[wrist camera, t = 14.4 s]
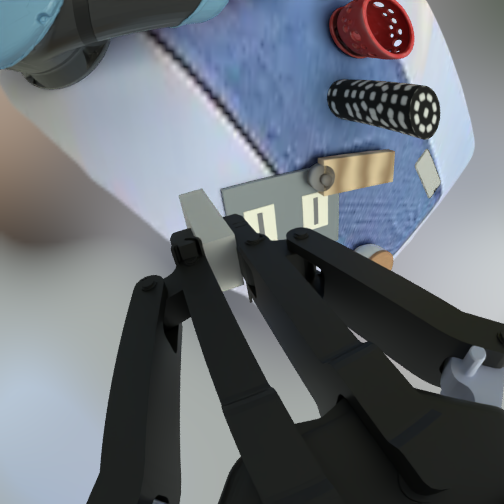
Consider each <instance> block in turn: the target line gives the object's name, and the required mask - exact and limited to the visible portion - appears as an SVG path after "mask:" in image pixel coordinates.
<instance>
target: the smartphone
mask: <svg viewBox="0 0 504 504" xmlns="http://www.w3.org/2000/svg"><path fill="white" fill-rule="evenodd" d="M415 169H416V171H417V173H418V175H419V178H420V180H421V182H422V184H423V187H424V189H425V192H426V194H427V196H428V198H431V197H432V195H433V194H434V192H435V191H436V189H437V188H438V186H439V185H440V183H441V181H440V178H439V175H438V172H437V170H436V167H435V165H434V162H433V159H432V157H431V155H430V152H429V150H428V149H426V150H425V151H424V152H423V154H422V155H421V157H420V158H419V159H418V161H417V162H416V164H415Z"/></svg>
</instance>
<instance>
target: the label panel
mask: <svg viewBox="0 0 504 504" xmlns="http://www.w3.org/2000/svg"><path fill="white" fill-rule="evenodd" d="M309 169H310V168H306V169H301V170H297V171H292V172H288V173H283V174H279V175H275V176H271V177H266V178H262V179H258V180H254V181H250V182H246V183H242V184H238V185H235V186H231V187H227V188H223V189H221V193H222V198H223V203H224V208H225V214H226V216H229V215H232V214H238V215H241V216H243V218H244V219H245V220H246V221H247V222H248V223H249V225H250V226H251V227H252V228H253V229H254V230H255V231H256V233H261V234H264V235H266V236H267V237H268V238H269V239H270V240H284V239H286V234H287V232H288V231H290V230H291V229H294V228H299V227H304V228H309V229H312V230H314V231H316V232H318V233H320V234H322V235H324V236H326V237H328V238H330V239H332V240H334V241H337V240H338V225H339V193H337V194H332V195H328V196H323V195H321V194H319V193H318V191H317V190H316V189H314V188H312V187H311V186H310V185H309V184H308V182H307V173H308V171H309Z"/></svg>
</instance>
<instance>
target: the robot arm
mask: <svg viewBox="0 0 504 504" xmlns="http://www.w3.org/2000/svg"><path fill="white" fill-rule="evenodd" d="M228 1H229V0H0V69H7V70H13V71H19V72H22V74H23V76H24V77H25V78H26V80H27V81H28V82H30V83H31V84H33V85H35V86H37V87H40V88H45V89H60V88H65V87H68V86H70V85H73V84H75V83H77V82H79V81H80V80H82V79H83V78H85V77H86V76H87V75H88V74H90V73H91V72H92V71H93V70H94V69H95V68H96V66H97V65H98V64H99V63H100V61H101V60H102V58H103V57H104V55H105V53H106V51H107V49H108V46H109V43H110V38H114V37H118V36H123V35H127V34H131V33H136V32H141V31H147V30H152V29H158V28H165V27H169V28H177V27H180V26H183V25H187V24H194V23H202V22H205V21H208V20H211V19H212V18H214V17H216V16H217V15H218V14H219V13H220V12H221V11H222V10H223V9H224V7H225V6H226V4H227V3H228ZM179 199H180V202H181V206H182V210H183V214H184V218H185V221H186V225H187V229H185V230H182V231H178V232H175V233H173V234H172V236H171V238H170V241H171V245H172V246H171V252H172V255H173V258H174V261H175V264H176V269H175V270H174V272H173V273H172V274H171V275H169V276H168V277H166V278H164V279H163V278H162V277H161V276H157V275H151V276H147V277H145V278H143V279H141V280H140V281H139V282H138V283H137V284H136V286H135V288H134V290H133V294H132V297H131V301H130V305H129V309H128V312H127V317H126V320H125V324H124V328H123V332H122V336H121V340H120V345H119V349H118V354H117V358H116V363H115V368H114V373H113V378H112V383H111V389H110V395H109V400H108V407H107V413H106V420H105V427H104V435H103V443H102V453H101V464H100V473H99V476H98V478H97V480H96V483H95V485H94V487H93V489H92V492H91V494H90V496H89V499H88V501H87V503H86V504H179V502H180V496H181V466H180V465H181V464H180V370H181V345H182V322H183V321H185V320H186V319H188V318H190V317H191V318H192V321H193V325H194V328H195V331H196V334H197V337H198V340H199V343H200V346H201V349H202V352H203V355H204V358H205V361H206V364H207V367H208V369H209V372H210V375H211V378H212V380H213V383H214V386H215V389H216V391H217V394H218V397H219V399H220V402H221V405H222V410H223V413H224V416H225V419H226V421H227V423H228V426H229V428H230V431H231V433H232V436H233V438H234V440H235V443H236V445H237V448H238V450H239V452H240V455H241V457H240V458H239V459H238V460H237V461H236V463H235V464H234V466H233V467H232V469H231V471H230V472H229V475H228V477H227V480H226V483H225V485H224V488H223V491H222V494H221V497H220V499H219V502H218V504H504V410H503V409H501V405H502V397H503V387H504V324H502V323H499V322H495V321H492V320H489V319H485V318H482V317H478V316H475V315H472V314H468V313H465V312H462V311H460V310H459V309H457V308H455V307H454V306H452V305H450V304H449V303H447V302H445V301H444V300H442V299H440V298H439V297H437V296H435V295H433V294H431V293H430V292H428V291H426V290H425V289H423V288H421V287H419V286H418V285H416V284H414V283H412V282H411V281H409V280H407V279H405V278H403V277H402V276H400V275H398V274H396V273H394V272H393V271H391V270H389V269H387V268H385V267H383V266H381V265H380V264H378V263H376V262H374V261H372V260H370V259H368V258H367V257H365V256H363V255H361V254H359V253H357V252H355V251H353V250H351V249H349V248H347V247H346V246H344V245H342V244H340V243H338V242H336V241H334V240H332V239H330V238H328V237H326V236H324V235H322V234H320V233H318V232H316V231H314V230H312V229H309V228H304V227H299V228H294V229H291V230H290V231H288V232H287V234H286V239H284V240H270V239H269V238H268V237H267V236H266V235H264V234H261V233H256V231H255V230H254V229H253V228H252V227H251V226H250V225H249V223H248V222H247V221H246V220H245V219H244V218H243V216H241V215H238V214H232V215H229V216H225V217H222V216H221V215H220V213H219V212H218V210H217V209H216V208H215V206H214V205H213V203H212V202H211V201H210V199H209V198H208V196H207V195H206V193H205V192H204V191H203V189H199V190H195V191H192V192H188V193H185V194H181V195H179ZM316 266H317V267H319V268H320V269H321V272H320V271H318V270H316ZM243 277H244V279H245V281H246V284H247V290H248V295H249V300H250V303H251V302H252V299H253V300H254V302H255V304H256V305H257V307H258V309H259V310H260V312H261V314H262V315H263V317H264V319H265V320H266V322H267V324H268V325H269V327H270V329H271V330H272V332H273V334H274V335H275V337H276V339H277V340H278V342H279V344H280V345H281V347H282V348H283V350H284V352H285V353H286V355H287V356H288V358H289V360H290V362H291V363H292V365H293V366H294V368H295V370H296V371H297V373H298V374H299V376H300V378H301V379H302V381H303V383H304V384H305V386H306V387H307V389H308V391H309V392H310V394H311V395H312V397H313V399H314V400H315V402H316V404H317V406H318V409H319V413H320V416H321V418H319V419H315V420H311V421H306V422H302V423H297V424H294V422H293V420H292V419H291V417H290V415H289V413H288V411H287V410H286V408H285V406H284V404H283V403H282V401H281V399H280V397H279V396H278V394H277V392H276V391H275V389H274V388H272V387H270V385H269V384H268V382H267V380H266V378H265V376H264V374H263V372H262V371H261V369H260V367H259V365H258V363H257V361H256V359H255V357H254V355H253V353H252V351H251V349H250V347H249V345H248V343H247V341H246V339H245V338H244V335H243V333H242V331H241V329H240V327H239V325H238V323H237V321H236V319H235V317H234V315H233V314H232V311H231V309H230V307H229V305H228V303H227V301H226V299H225V297H224V294H223V291H226V290H229V289H232V288H235V287H238V286H241V285H244V281H243ZM348 327H349V328H350V329H351V330H353V331H354V332H355V333H357V334H358V335H360V336H361V337H363V338H364V339H365V340H367V341H368V342H365V343H362V342H360V341H359V340H358V339H357V338H356V337H355V336H354V335H353V333H352V332H351V331H350V330H349V329H348ZM384 353H385V354H386V355H388V356H389V357H390V358H392V359H393V360H394V361H396V362H397V363H398V364H400V365H401V366H403V367H404V368H405V369H407V370H409V371H410V372H411V373H413V374H414V375H416V376H417V377H419V378H421V379H422V380H424V381H426V382H428V383H430V384H432V385H435V386H438V387H440V388H441V389H442V390H441V393H440V394H436V393H432V392H428V391H424V390H420V389H416V388H413V387H412V385H411V384H410V383H409V382H408V381H407V380H406V378H405V377H404V376H403V375H402V374H401V373H400V371H399V370H398V369H397V368H396V367H395V366H394V364H393V363H392V362H391V361H390V360H389V359H388V358H387V356H386V355H385V354H384Z"/></svg>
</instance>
